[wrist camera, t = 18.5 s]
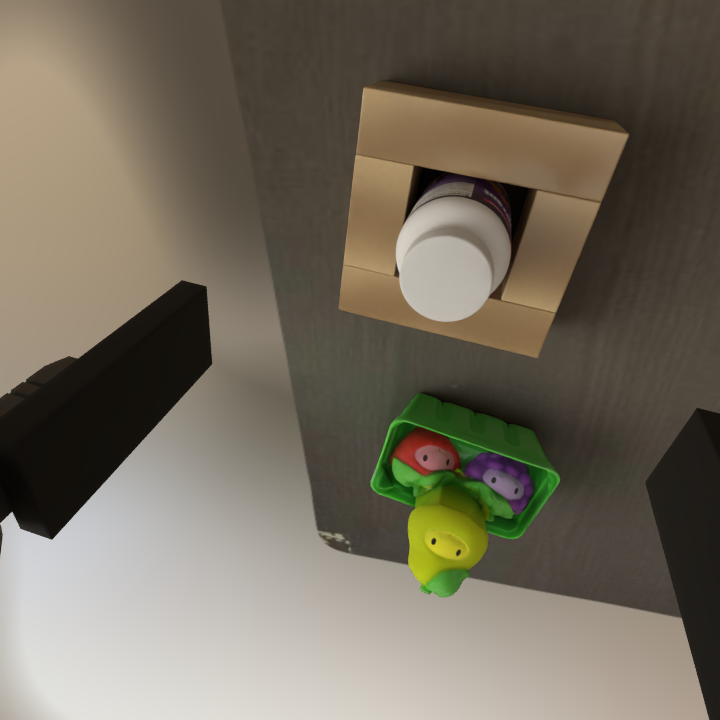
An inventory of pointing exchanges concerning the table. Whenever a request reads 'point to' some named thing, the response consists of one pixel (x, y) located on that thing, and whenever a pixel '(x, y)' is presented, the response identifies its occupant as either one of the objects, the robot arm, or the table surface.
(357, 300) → the block
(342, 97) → the table surface
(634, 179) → the table surface
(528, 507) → the fruit basket
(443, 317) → the pill bottle
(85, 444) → the robot arm
